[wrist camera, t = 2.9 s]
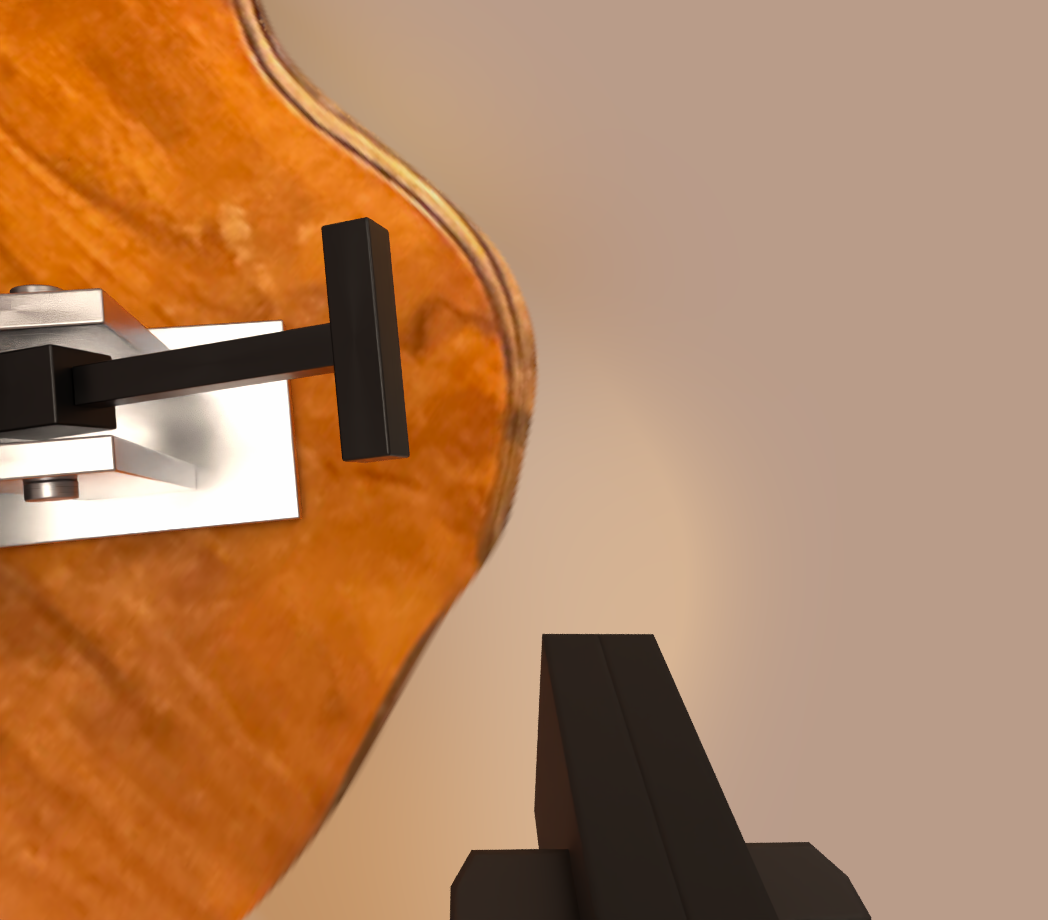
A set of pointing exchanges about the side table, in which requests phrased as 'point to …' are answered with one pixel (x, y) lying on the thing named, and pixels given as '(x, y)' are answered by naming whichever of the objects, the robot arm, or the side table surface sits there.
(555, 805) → the robot arm
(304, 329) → the lever
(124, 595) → the side table surface
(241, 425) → the lever bracket
